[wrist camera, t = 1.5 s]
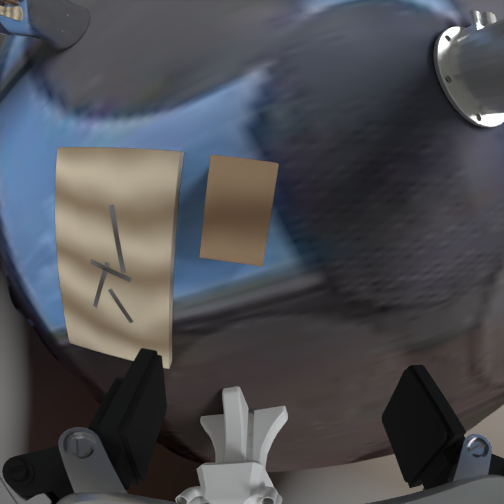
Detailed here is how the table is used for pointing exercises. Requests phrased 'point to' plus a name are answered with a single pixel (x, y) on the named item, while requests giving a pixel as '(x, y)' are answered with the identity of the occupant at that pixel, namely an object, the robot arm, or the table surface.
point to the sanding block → (237, 209)
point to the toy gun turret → (238, 454)
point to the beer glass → (44, 21)
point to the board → (117, 247)
